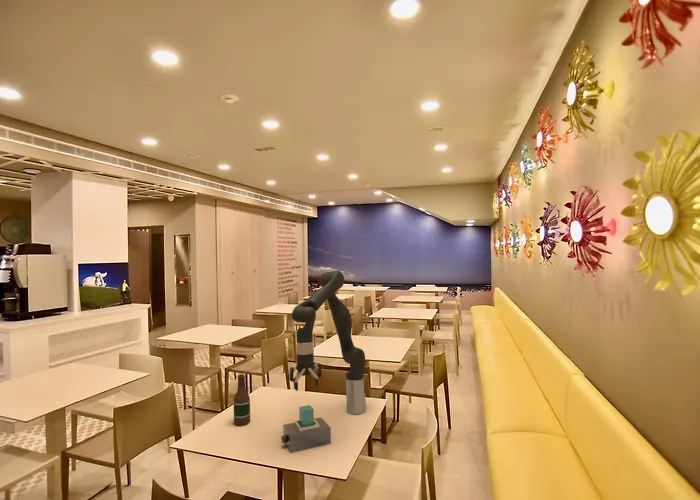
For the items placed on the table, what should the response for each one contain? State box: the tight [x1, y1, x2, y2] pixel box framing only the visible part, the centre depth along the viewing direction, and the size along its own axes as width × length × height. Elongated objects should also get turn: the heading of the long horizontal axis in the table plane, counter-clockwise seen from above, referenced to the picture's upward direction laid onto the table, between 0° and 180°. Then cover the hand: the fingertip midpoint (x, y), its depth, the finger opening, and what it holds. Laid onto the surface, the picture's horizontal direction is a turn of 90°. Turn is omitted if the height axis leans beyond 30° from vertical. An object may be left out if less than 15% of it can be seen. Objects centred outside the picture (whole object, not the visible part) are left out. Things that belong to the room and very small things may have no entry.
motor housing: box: [280, 417, 332, 454], centre depth 173 cm, size 20×12×8 cm, turn 114°
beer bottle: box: [233, 373, 251, 427], centre depth 194 cm, size 8×8×24 cm
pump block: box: [298, 404, 315, 427], centre depth 173 cm, size 5×5×8 cm
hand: (306, 388), depth 173 cm, fingers open, 8 cm apart
